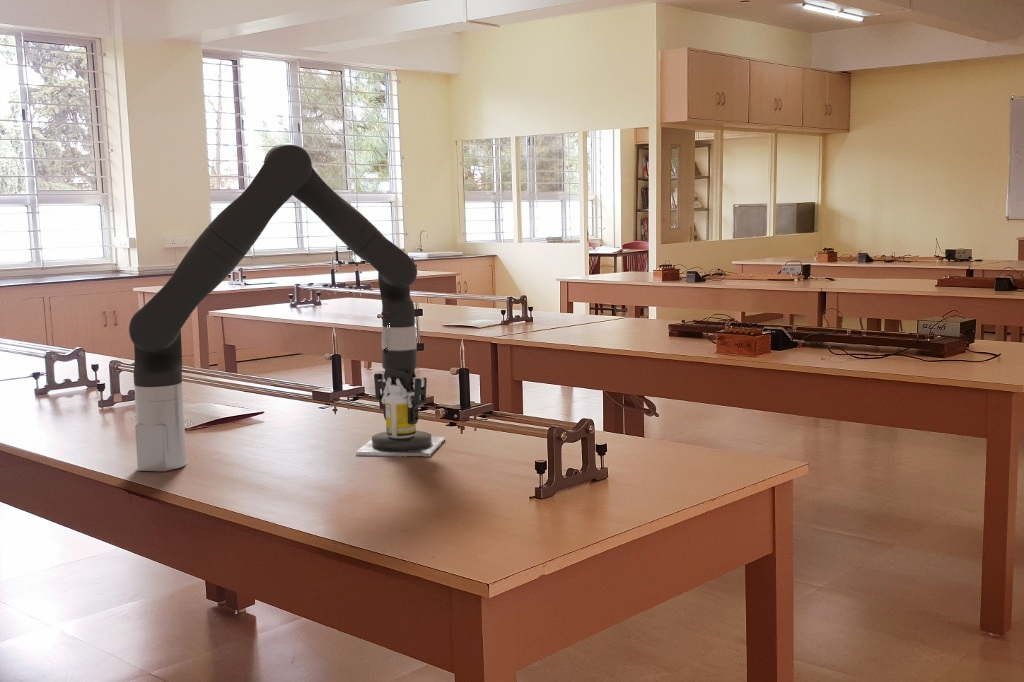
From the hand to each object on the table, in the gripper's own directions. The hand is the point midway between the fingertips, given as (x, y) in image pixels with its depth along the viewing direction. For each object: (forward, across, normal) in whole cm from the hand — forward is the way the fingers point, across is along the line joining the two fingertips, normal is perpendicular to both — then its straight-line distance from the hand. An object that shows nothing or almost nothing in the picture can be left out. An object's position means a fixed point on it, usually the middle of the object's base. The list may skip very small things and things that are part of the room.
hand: (400, 421), depth 218 cm
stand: (+6, 0, 0) cm, 6 cm away
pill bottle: (+3, 0, 0) cm, 3 cm away
